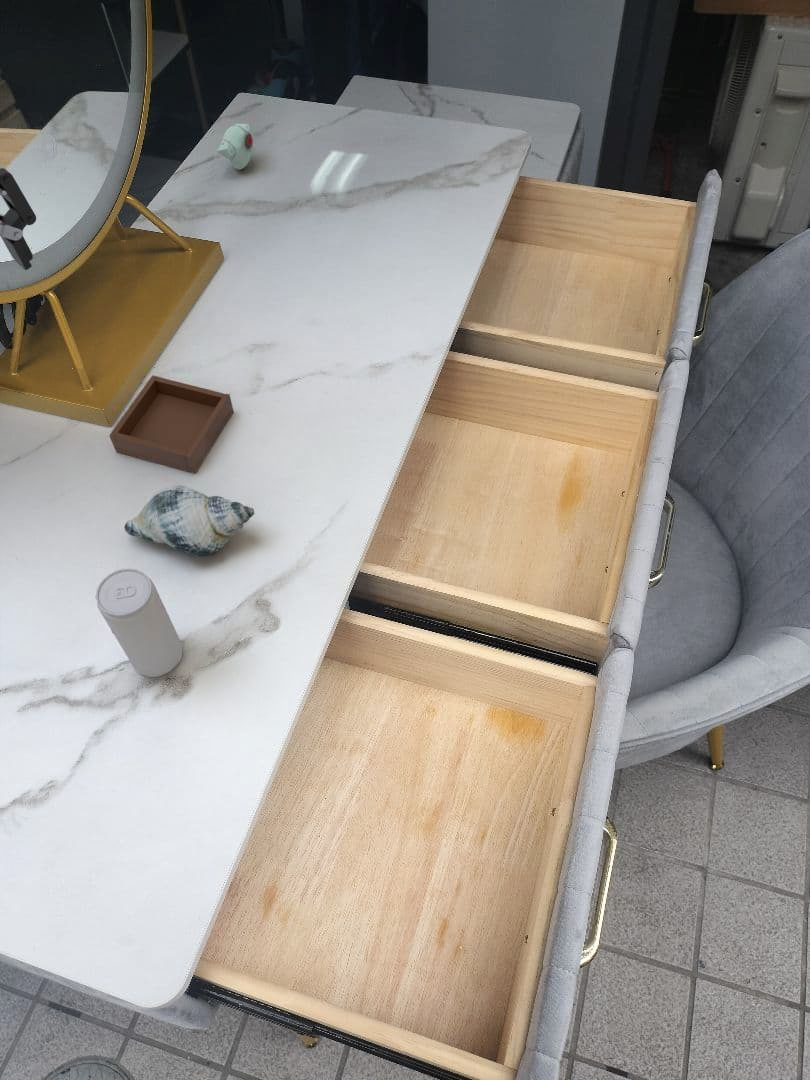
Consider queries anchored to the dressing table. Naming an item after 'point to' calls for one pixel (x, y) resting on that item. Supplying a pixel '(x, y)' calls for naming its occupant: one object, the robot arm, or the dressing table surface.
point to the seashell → (189, 520)
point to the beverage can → (139, 621)
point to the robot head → (237, 145)
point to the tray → (172, 424)
